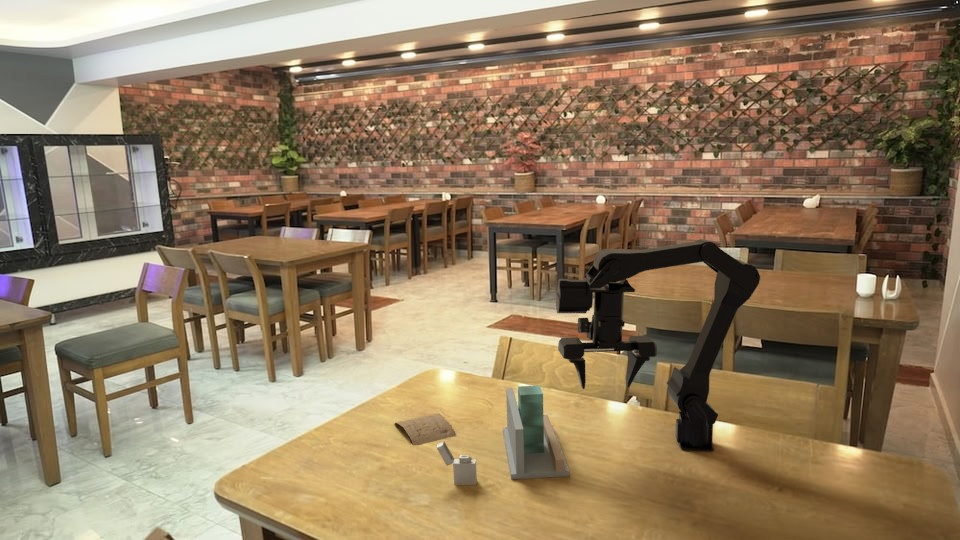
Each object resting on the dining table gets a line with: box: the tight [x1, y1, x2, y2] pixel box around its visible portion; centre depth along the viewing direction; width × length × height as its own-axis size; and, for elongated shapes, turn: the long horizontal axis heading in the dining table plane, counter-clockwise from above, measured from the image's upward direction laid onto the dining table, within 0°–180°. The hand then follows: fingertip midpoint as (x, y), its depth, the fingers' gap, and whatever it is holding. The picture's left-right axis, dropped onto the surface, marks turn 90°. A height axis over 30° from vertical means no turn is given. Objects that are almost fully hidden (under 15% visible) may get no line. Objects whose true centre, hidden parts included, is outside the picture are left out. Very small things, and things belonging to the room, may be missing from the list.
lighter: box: [436, 440, 478, 486], centre depth 114 cm, size 7×2×8 cm, turn 85°
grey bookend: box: [502, 387, 570, 480], centre depth 124 cm, size 11×20×10 cm, turn 2°
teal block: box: [517, 385, 544, 454], centre depth 123 cm, size 4×4×12 cm
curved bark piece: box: [394, 412, 457, 446], centre depth 137 cm, size 14×10×3 cm
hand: (605, 387), depth 123 cm, fingers open, 9 cm apart
